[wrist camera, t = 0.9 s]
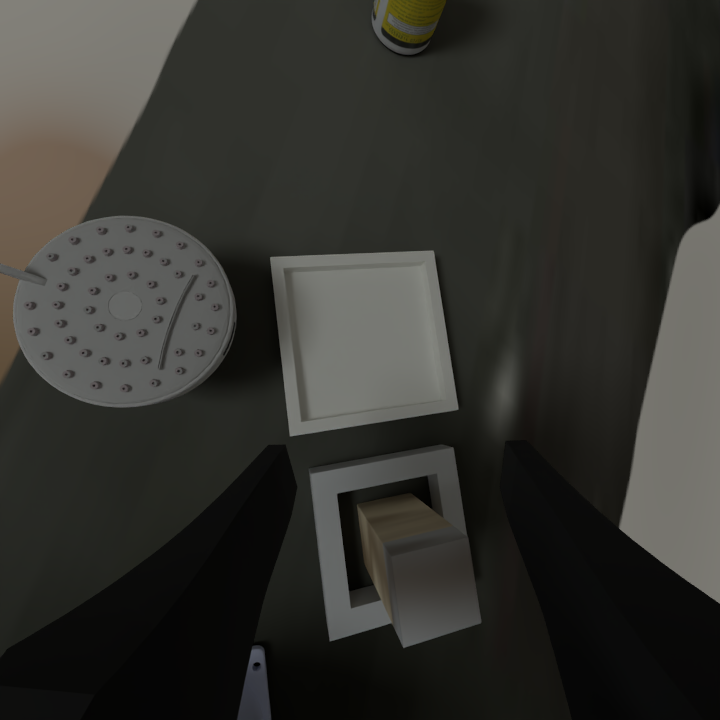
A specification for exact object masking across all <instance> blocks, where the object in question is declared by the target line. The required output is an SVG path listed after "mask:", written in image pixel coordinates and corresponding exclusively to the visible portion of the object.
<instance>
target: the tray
mask: <svg viewBox="0 0 720 720" xmlns="http://www.w3.org/2000/svg"><path fill="white" fill-rule="evenodd" d="M270 262H271V271H272V279H273V288H274V297H275V306H276V315H277V324H278V333H279V342H280V351H281V360H282V369H283V378H284V387H285V396H286V405H287V414H288V423H289V431H290V436H295V435H302V434H308V433H314V432H321V431H327V430H334V429H340V428H346V427H353V426H359V425H365V424H372V423H378V422H384V421H391V420H397V419H403V418H410V417H416V416H422V415H429V414H435V413H441V412H448V411H454V410H459V409H458V403H457V396H456V390H455V384H454V377H453V371H452V365H451V358H450V352H449V345H448V339H447V333H446V326H445V320H444V314H443V307H442V301H441V294H440V288H439V282H438V275H437V269H436V263H435V256H434V251H413V252H387V253H361V254H336V255H310V256H284V257H270Z"/></svg>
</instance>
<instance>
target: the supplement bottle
mask: <svg viewBox="0 0 720 720" xmlns="http://www.w3.org/2000/svg"><path fill="white" fill-rule="evenodd" d="M446 1H447V0H375V1H374V5H373V11H372V25H373V29H374V31H375V33H376V35H377V37H378V38H379V39H380V41H381V42H382V43H383V44H384V45H385V46H386V47H388V48H389V49H391V50H392V51H394V52H396V53H399V54H404V55H413V54H417V53H419V52H421V51H422V50H424V49H425V48H426V47H427V45H428V44H429V42H430V40H431V38H432V36H433V33H434V31H435V29H436V26H437V23H438V21H439V18H440V16H441V13H442V11H443V8H444V6H445V3H446Z"/></svg>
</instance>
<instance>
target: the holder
mask: <svg viewBox="0 0 720 720" xmlns="http://www.w3.org/2000/svg"><path fill="white" fill-rule="evenodd" d="M309 474H310V483H311V491H312V500H313V509H314V517H315V526H316V535H317V543H318V552H319V561H320V569H321V578H322V586H323V595H324V604H325V612H326V621H327V627H328V633H329V639H330V641H333V640H337V639H340V638H343V637H347V636H350V635H353V634H357V633H360V632H363V631H367V630H370V629H373V628H377V627H380V626H383V625H387V624H390V623H392V622H391V620H390V618H389V616H388V613H387V611H386V609H385V607H384V605H383V603H382V600H381V598H380V596H379V594H378V592H377V590H376V587H375V585H371V586H368V587H364V588H360V589H356V590H353V591H349V589H348V581H347V573H346V565H345V557H344V549H343V540H342V532H341V524H340V516H339V508H338V499H337V493H342V492H347V491H352V490H357V489H362V488H367V487H372V486H377V485H382V484H387V483H392V482H397V481H402V480H407V479H412V478H417V477H422V476H426V475H428V482H429V489H430V495H431V502H432V509H433V511H435V512H436V513H437V514H439V515H440V516H441V517H443V518H444V519H445V520H447V521H448V522H449V523H450V524H452V525H453V526H454V527H456V528H457V529H458V530H460V531H461V532H462V533H463V534H465V535H466V536H467V532H466V526H465V519H464V513H463V506H462V500H461V493H460V487H459V480H458V474H457V467H456V461H455V454H454V448H453V447H450V446H446V445H443V444H440V445H435V446H429V447H424V448H418V449H413V450H407V451H402V452H396V453H391V454H385V455H380V456H374V457H369V458H363V459H358V460H352V461H346V462H341V463H335V464H330V465H324V466H319V467H313V468H309Z"/></svg>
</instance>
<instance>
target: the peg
mask: <svg viewBox="0 0 720 720" xmlns="http://www.w3.org/2000/svg"><path fill="white" fill-rule="evenodd" d="M357 509H358V517H359V525H360V533H361V541H362V549H363V557H364V564H365V566H366V568H367V570H368V572H369V575H370V577H371V579H372V581H373V583H374V585H375V587H376V590H377V592H378V594H379V596H380V598H381V600H382V603H383V605H384V607H385V609H386V611H387V613H388V616H389V618H390V620H391V622H392V624H393V626H394V628H395V631H396V633H397V635H398V637H399V639H400V641H401V644H402V646H403V648H405V647H408V646H411V645H414V644H417V643H420V642H423V641H426V640H430V639H433V638H436V637H439V636H442V635H445V634H448V633H451V632H454V631H458V630H461V629H464V628H467V627H470V626H473V625H476V624H479V623H481V617H480V611H479V604H478V598H477V591H476V585H475V578H474V572H473V565H472V559H471V552H470V546H469V539H468V537H467V536H466V535H465V534H463V533H462V532H461V531H460V530H458V529H457V528H456V527H454V526H453V525H452V524H450V523H449V522H448V521H447V520H445V519H444V518H443V517H441V516H440V515H439V514H437V513H436V512H435V511H433V510H432V509H431V508H430V507H428V506H427V505H426V504H424V503H423V502H422V501H420V500H419V499H418V498H417V497H415V496H414V495H413V494H411V493H406V494H401V495H397V496H392V497H387V498H383V499H378V500H373V501H368V502H364V503H359V504H357Z"/></svg>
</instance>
